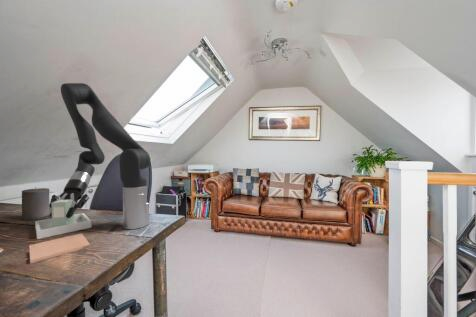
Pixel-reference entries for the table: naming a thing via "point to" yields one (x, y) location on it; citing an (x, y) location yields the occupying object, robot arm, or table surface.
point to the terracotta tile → (57, 247)
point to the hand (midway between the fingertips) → (60, 217)
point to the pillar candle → (35, 203)
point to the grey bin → (46, 228)
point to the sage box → (61, 213)
